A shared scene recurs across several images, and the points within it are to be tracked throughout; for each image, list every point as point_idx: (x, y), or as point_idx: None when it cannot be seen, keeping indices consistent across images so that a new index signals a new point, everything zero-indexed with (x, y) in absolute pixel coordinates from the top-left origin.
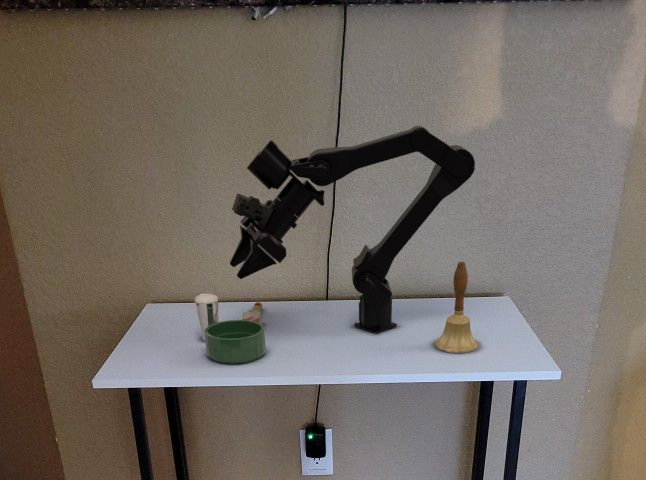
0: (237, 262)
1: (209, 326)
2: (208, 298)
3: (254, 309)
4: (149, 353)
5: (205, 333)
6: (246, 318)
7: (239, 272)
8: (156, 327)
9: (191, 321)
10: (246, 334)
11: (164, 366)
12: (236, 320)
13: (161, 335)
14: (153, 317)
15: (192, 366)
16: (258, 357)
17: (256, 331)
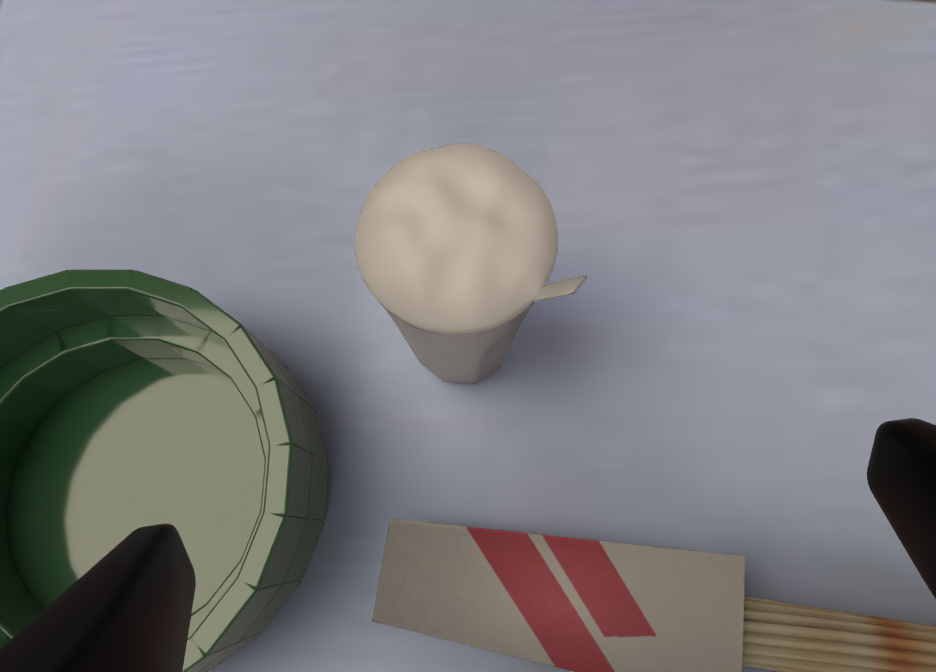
0: (932, 550)
1: (188, 299)
2: (370, 242)
3: (875, 651)
4: (307, 54)
5: (46, 276)
6: (619, 577)
7: (87, 576)
8: (701, 56)
9: (796, 224)
10: (236, 567)
11: (106, 129)
12: (270, 498)
13: (567, 87)
14: (874, 31)
15: (58, 255)
16: None
17: None
